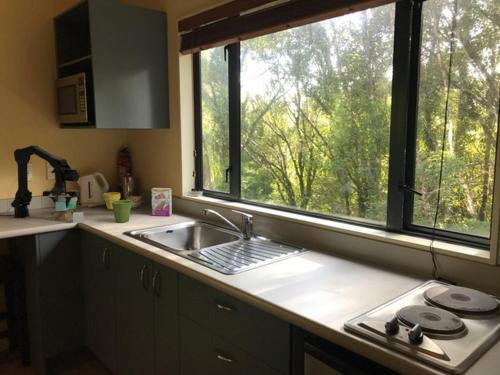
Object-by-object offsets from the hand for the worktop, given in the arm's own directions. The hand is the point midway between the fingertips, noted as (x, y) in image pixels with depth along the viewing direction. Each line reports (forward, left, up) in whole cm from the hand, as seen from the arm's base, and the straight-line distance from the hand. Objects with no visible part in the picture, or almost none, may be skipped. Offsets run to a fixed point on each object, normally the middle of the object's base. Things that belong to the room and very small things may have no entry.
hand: (62, 208), depth 240 cm
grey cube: (+11, -6, -7) cm, 14 cm away
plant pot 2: (+35, -5, -7) cm, 36 cm away
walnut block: (0, 0, -7) cm, 7 cm away
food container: (-2, +16, -7) cm, 17 cm away
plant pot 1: (+18, +35, -7) cm, 40 cm away
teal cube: (0, 0, -1) cm, 1 cm away
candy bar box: (+54, +12, -7) cm, 56 cm away
